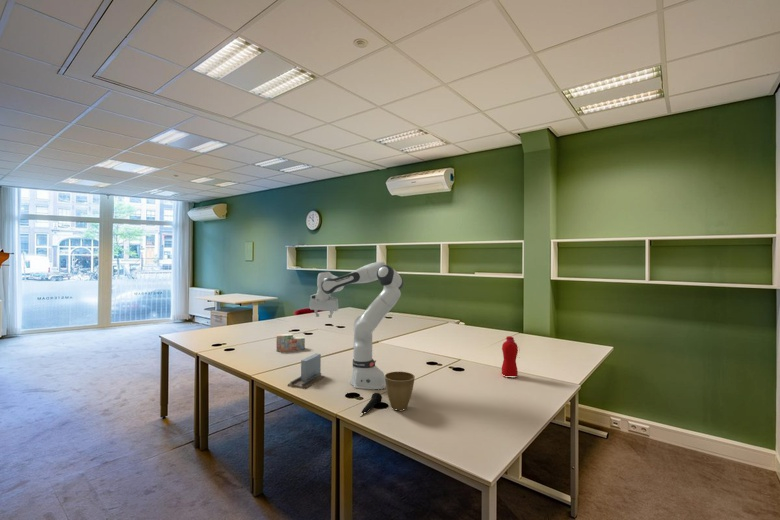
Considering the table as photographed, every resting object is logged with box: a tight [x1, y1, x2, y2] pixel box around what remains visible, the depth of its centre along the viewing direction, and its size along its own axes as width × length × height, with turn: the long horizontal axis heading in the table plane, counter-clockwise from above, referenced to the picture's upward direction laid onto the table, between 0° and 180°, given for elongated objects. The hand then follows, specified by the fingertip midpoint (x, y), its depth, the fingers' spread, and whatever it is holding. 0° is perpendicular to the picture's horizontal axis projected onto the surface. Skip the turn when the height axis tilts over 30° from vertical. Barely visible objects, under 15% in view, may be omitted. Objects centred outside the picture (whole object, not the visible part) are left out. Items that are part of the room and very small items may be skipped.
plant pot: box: [384, 371, 416, 411], centre depth 181 cm, size 15×15×16 cm
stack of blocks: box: [275, 333, 306, 352], centre depth 287 cm, size 21×6×12 cm, turn 107°
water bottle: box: [501, 336, 519, 377], centre depth 230 cm, size 9×11×25 cm
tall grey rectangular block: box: [300, 353, 322, 381], centre depth 222 cm, size 4×16×12 cm, turn 159°
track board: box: [287, 372, 325, 389], centre depth 217 cm, size 12×20×2 cm, turn 160°
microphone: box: [361, 392, 383, 413], centre depth 180 cm, size 6×6×20 cm
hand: (323, 317), depth 241 cm, fingers open, 8 cm apart
